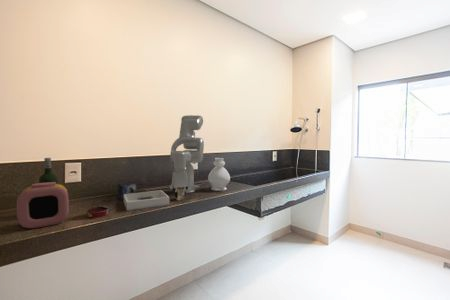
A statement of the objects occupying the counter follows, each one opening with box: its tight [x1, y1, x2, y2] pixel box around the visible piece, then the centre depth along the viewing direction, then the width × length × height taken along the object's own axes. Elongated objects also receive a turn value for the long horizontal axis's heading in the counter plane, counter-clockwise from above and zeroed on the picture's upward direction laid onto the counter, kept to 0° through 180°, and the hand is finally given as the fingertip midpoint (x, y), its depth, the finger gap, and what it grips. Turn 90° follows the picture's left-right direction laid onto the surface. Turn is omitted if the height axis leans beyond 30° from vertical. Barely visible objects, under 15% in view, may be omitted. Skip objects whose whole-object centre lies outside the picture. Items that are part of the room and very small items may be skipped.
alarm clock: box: [16, 182, 70, 229], centre depth 106 cm, size 18×11×19 cm, turn 126°
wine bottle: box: [38, 157, 59, 184], centre depth 120 cm, size 8×8×30 cm
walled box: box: [123, 189, 170, 212], centre depth 140 cm, size 24×20×5 cm
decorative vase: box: [207, 157, 231, 192], centre depth 180 cm, size 18×18×25 cm
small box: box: [117, 181, 137, 201], centre depth 152 cm, size 11×6×10 cm, turn 129°
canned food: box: [86, 200, 109, 219], centre depth 119 cm, size 11×10×10 cm
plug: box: [175, 187, 185, 201], centre depth 150 cm, size 4×4×7 cm
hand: (180, 197), depth 150 cm, fingers closed on plug, 4 cm apart
